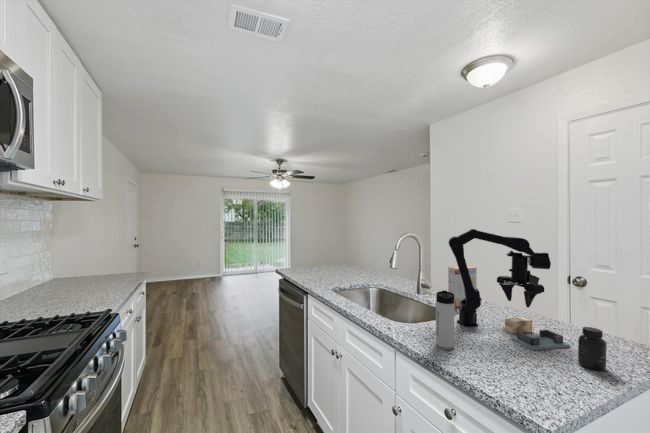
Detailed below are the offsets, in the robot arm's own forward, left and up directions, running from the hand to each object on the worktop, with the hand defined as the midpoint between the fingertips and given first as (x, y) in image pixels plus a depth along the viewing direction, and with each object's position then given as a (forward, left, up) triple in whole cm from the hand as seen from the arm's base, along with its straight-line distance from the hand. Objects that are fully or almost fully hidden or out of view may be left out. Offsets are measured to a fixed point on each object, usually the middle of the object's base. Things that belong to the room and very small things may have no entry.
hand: (518, 304), depth 128 cm
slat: (-1, -1, -11) cm, 11 cm away
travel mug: (-41, -10, -11) cm, 44 cm away
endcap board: (-3, -13, -11) cm, 17 cm away
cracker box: (-2, +35, -11) cm, 37 cm away
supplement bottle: (-2, -31, -11) cm, 33 cm away
